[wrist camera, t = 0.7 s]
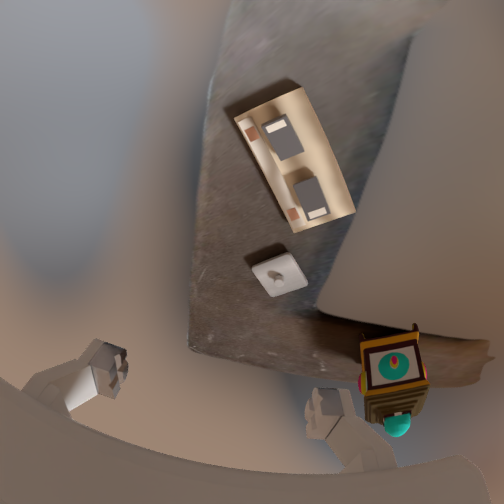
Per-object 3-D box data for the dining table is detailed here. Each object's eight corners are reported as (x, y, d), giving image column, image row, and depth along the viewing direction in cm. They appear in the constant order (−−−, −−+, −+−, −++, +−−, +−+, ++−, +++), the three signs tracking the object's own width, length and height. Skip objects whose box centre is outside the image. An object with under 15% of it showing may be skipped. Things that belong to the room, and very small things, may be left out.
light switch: (272, 290, 70) (270, 304, 66) (251, 261, 66) (247, 275, 62) (309, 277, 66) (308, 292, 62) (289, 245, 62) (288, 259, 58)
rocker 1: (285, 113, 42) (286, 116, 41) (303, 147, 46) (304, 151, 45) (261, 123, 44) (261, 127, 42) (280, 157, 48) (280, 161, 47)
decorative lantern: (421, 317, 67) (444, 413, 43) (415, 356, 77) (428, 439, 53) (353, 330, 74) (357, 430, 50) (358, 367, 84) (359, 451, 59)
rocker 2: (316, 175, 48) (315, 176, 47) (330, 211, 50) (330, 213, 49) (293, 183, 50) (292, 185, 49) (308, 219, 52) (307, 221, 50)
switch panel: (302, 86, 43) (302, 87, 40) (353, 205, 54) (356, 214, 51) (237, 116, 48) (232, 119, 45) (294, 225, 59) (293, 235, 56)
